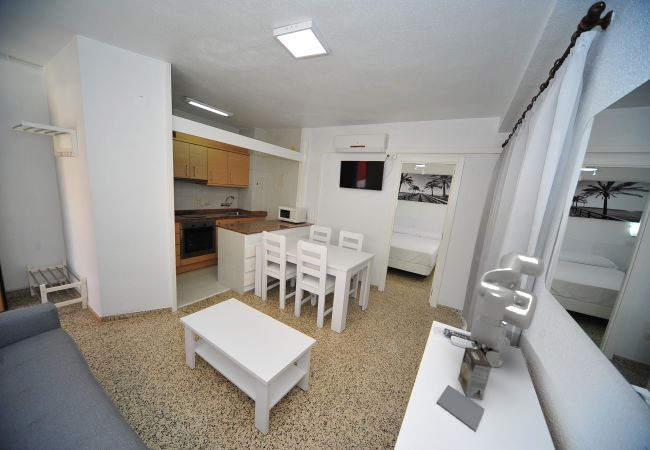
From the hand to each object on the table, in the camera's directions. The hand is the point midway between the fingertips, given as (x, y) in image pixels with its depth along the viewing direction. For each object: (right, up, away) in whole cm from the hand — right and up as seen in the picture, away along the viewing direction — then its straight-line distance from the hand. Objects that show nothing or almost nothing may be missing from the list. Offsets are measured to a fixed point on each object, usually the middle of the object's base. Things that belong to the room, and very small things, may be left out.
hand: (480, 357), depth 97 cm
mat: (-16, -12, -11) cm, 23 cm away
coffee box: (-7, -12, -3) cm, 14 cm away
